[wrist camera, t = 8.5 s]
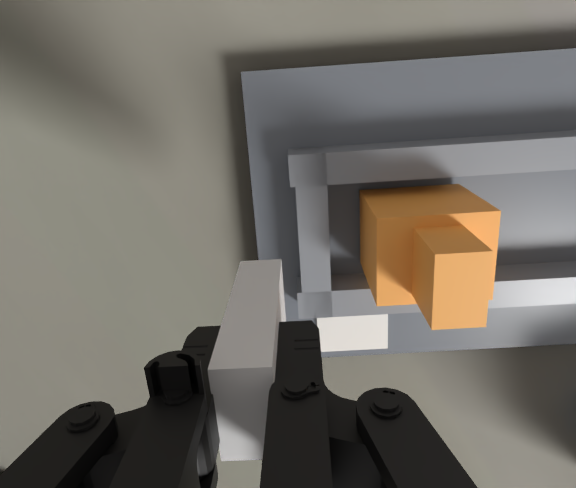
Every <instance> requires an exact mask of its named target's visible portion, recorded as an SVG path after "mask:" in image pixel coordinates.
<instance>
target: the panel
mask: <svg viewBox="0 0 576 488" xmlns="http://www.w3.org/2000/svg"><path fill="white" fill-rule="evenodd" d="M241 80H242V90H243V101H244V111H245V122H246V133H247V143H248V154H249V164H250V175H251V185H252V196H253V207H254V217H255V228H256V238H257V249H258V260H271V259H281V261H282V274H283V287H284V300H285V313H286V321H306V320H312V321H313V322H314V324H315V325H316V326H317V327H318V328H319V334H320V346H321V357H339V356H357V355H376V354H395V353H414V352H432V351H451V350H470V349H488V348H507V347H526V346H545V345H563V344H576V48H571V49H557V50H543V51H529V52H514V53H500V54H486V55H472V56H458V57H444V58H430V59H415V60H401V61H387V62H373V63H359V64H345V65H331V66H316V67H302V68H288V69H274V70H260V71H246V72H241ZM447 184H460V185H461V186H463V187H465V188H466V189H468V190H469V191H471V192H472V193H474V194H475V195H477V196H479V197H480V198H482V199H483V200H485V201H486V202H488V203H490V204H491V205H493V206H494V207H496V208H497V209H499V210H500V211H501V217H500V228H499V238H498V249H497V259H496V270H495V280H494V291H493V300H489V302H488V313H487V323H486V327H478V328H460V329H441V330H431V328H430V326H429V324H428V323H427V321H426V319H425V317H424V315H423V314H422V312H421V310H420V308H419V307H418V305H417V304H411V305H393V306H376V303H375V301H374V298H373V295H372V293H371V290H370V287H369V285H368V282H367V279H366V277H365V274H364V271H363V268H362V266H361V263H360V197H359V190H368V189H384V188H399V187H415V186H431V185H447Z"/></svg>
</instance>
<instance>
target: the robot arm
mask: <svg viewBox="0 0 576 488" xmlns="http://www.w3.org/2000/svg"><path fill="white" fill-rule="evenodd" d="M144 370H145V375H146V380H147V385H148V390H149V394H150V398H149V400H148V402H147V405H146V406H144V407H141V408H138V409H135V410H131V411H128V412H124V413H120V414H116V415H115V413H114V409H113V408H112V407H111V405H110V404H108V403H105V402H102V401H100V402H88V403H84V404H80V405H78V406H76V407H73V408H71V409H69V410H68V411H66V412H65V413H64V414H62V415H61V416H60V417H59V418H58V419H57V420H56V421H55V422H54V423H53V424H52V425H51V426H49V427H48V428H47V429H46V430H45V431H44V432H43V433H42V434H41V435H40V436H39V437H38V438H37V439H36V440H35V441H34V442H33V443H32V444H31V445H30V446H29V447H28V448H27V449H26V450H25V451H24V452H23V453H22V454H21V455H20V456H19V457H18V458H17V459H16V460H15V461H14V462H13V463H12V464H11V465H10V466H9V467H8V468H7V469H6V470H5V471H4V472H3V473H2V474H0V488H216V486H217V481H218V472H217V465H216V457H217V453H218V448H219V450H220V457H221V461H236V460H262V470H261V481H260V488H477V486H476V485H475V484H474V482H473V481H472V479H471V478H470V477H469V475H468V474H467V473H466V471H465V470H464V469H463V467H462V466H461V464H460V463H459V462H458V460H457V459H456V458H455V456H454V455H453V454H452V452H451V451H450V449H449V448H448V447H447V445H446V444H445V443H444V441H443V440H442V438H441V437H440V436H439V434H438V433H437V432H436V430H435V429H434V428H433V426H432V425H431V423H430V422H429V421H428V419H427V418H426V417H425V415H424V414H423V413H422V411H421V410H420V408H419V407H418V406H417V404H416V403H415V402H414V400H412V399H411V398H410V397H409V396H408V395H407V394H405V393H403V392H401V391H399V390H396V389H390V388H374V389H372V390H369V391H366V392H364V393H363V394H362V395H361V396H360V397H359V398H358V400H357V401H354V400H349V399H345V398H342V397H339V396H337V395H335V394H333V393H332V392H331V391H329V390H328V388H327V387H326V386H325V384H324V380H323V370H322V358H321V346H320V334H319V328H318V327H317V326H316V325H315V324H314V322H313V321H312V320H306V321H286V313H285V300H284V287H283V274H282V261H281V259H271V260H253V261H240V264H239V267H238V271H237V274H236V277H235V281H234V284H233V287H232V291H231V294H230V297H229V300H228V304H227V307H226V310H225V314H224V317H223V320H222V324H221V326H206V327H197V328H196V329H195V330H194V331H193V332H191V333H190V334H189V335H188V336H187V338H186V341H185V343H184V345H183V348H182V350H181V351H172V352H167V353H164V354H162V355H159V356H157V357H155V358H154V359H152V360H151V361H149V362H148V364H147V365H146V366H145V367H144Z"/></svg>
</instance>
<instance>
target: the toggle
mask: <svg viewBox="0 0 576 488" xmlns="http://www.w3.org/2000/svg"><path fill="white" fill-rule="evenodd" d="M359 197H360V263H361V266H362V268H363V271H364V274H365V277H366V279H367V282H368V285H369V287H370V290H371V293H372V295H373V298H374V301H375V303H376V306H393V305H411V304H417V305H418V307H419V308H420V310H421V312H422V314H423V315H424V317H425V319H426V321H427V323H428V324H429V326H430V328H431V330H441V329H460V328H478V327H486V323H487V313H488V302H489V300H493V291H494V280H495V270H496V259H497V249H498V238H499V228H500V217H501V211H500V210H499V209H497V208H496V207H494V206H493V205H491V204H490V203H488V202H486V201H485V200H483V199H482V198H480V197H479V196H477V195H475V194H474V193H472V192H471V191H469V190H468V189H466V188H465V187H463V186H461V185H460V184H447V185H431V186H415V187H399V188H384V189H368V190H359Z"/></svg>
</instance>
